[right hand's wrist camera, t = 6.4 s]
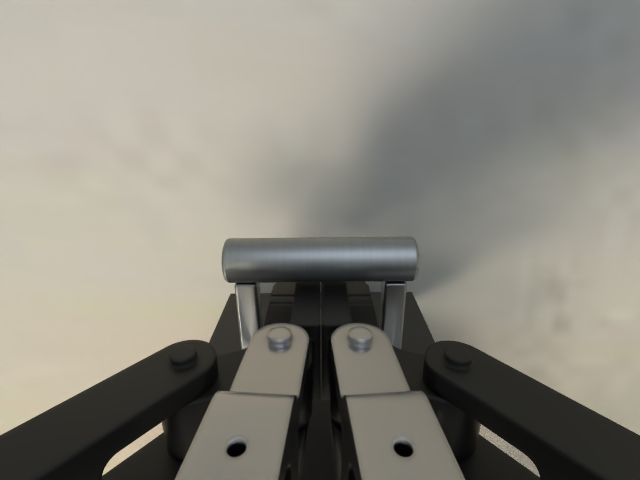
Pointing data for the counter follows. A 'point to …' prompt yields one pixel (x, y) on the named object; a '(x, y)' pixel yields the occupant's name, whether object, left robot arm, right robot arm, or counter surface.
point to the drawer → (320, 266)
